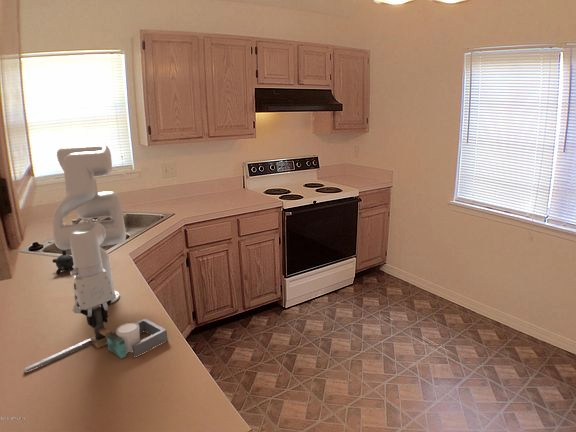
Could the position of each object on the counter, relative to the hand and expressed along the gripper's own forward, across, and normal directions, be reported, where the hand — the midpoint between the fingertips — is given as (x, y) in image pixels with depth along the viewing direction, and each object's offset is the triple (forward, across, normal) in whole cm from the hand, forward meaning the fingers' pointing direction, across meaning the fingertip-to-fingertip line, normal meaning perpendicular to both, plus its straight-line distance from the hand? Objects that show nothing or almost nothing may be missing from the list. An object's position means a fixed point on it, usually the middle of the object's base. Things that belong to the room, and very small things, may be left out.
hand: (98, 323), depth 125 cm
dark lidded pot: (+7, +20, +73) cm, 76 cm away
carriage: (+7, 0, -6) cm, 9 cm away
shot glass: (+7, +4, -10) cm, 13 cm away
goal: (+7, +7, -10) cm, 14 cm away
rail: (+7, -9, +3) cm, 12 cm away
